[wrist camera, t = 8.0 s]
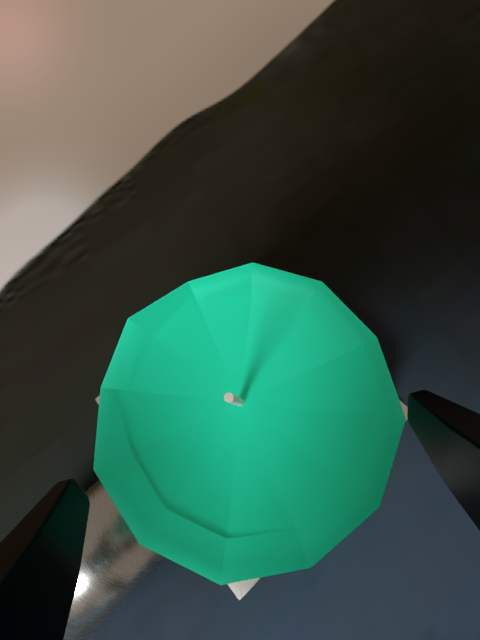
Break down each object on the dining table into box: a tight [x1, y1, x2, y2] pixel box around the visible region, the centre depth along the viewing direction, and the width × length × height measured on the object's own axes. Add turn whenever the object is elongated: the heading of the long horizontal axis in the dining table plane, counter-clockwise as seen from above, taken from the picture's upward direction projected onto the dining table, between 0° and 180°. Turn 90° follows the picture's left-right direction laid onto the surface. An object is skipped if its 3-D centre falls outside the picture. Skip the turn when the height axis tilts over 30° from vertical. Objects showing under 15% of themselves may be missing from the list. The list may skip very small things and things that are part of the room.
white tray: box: [63, 395, 408, 640], centre depth 14 cm, size 11×17×4 cm, turn 133°
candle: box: [93, 263, 406, 585], centre depth 10 cm, size 6×6×12 cm
